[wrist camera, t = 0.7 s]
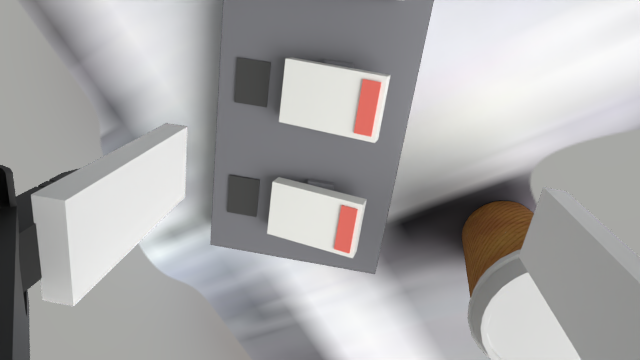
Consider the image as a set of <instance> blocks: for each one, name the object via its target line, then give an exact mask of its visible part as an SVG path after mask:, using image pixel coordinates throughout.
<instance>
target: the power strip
mask: <svg viewBox="0 0 640 360" xmlns="http://www.w3.org/2000/svg"><path fill="white" fill-rule="evenodd" d="M433 2H434V0H223V16H222V35H221V54H220V73H219V92H218V110H217V129H216V148H215V167H214V186H213V205H212V224H211V242H210V245H215V246H221V247H226V248H232V249H238V250H243V251H249V252H254V253H260V254H265V255H271V256H277V257H282V258H288V259H293V260H299V261H305V262H310V263H316V264H321V265H327V266H332V267H338V268H344V269H349V270H355V271H360V272H366V273H371V274H375V272H376V267H377V263H378V258H379V253H380V249H381V244H382V239H383V235H384V230H385V225H386V221H387V216H388V211H389V207H390V202H391V197H392V193H393V188H394V183H395V179H396V174H397V169H398V165H399V160H400V155H401V151H402V146H403V142H404V137H405V132H406V128H407V123H408V118H409V114H410V109H411V104H412V100H413V95H414V90H415V86H416V81H417V76H418V72H419V67H420V62H421V58H422V53H423V48H424V44H425V39H426V34H427V30H428V25H429V20H430V16H431V11H432V6H433ZM292 57H293V58H298V59H304V60H309V61H315V62H320V63H326V64H332V65H337V66H343V67H348V68H354V69H360V70H365V71H371V72H376V73H382V74H388V75H390V81H389V86H388V91H387V96H386V101H385V106H384V112H383V117H382V122H381V127H380V132H379V138H378V140H377V141H376V142H375V143H373V142H368V141H363V140H359V139H354V138H350V137H345V136H341V135H336V134H332V133H327V132H323V131H318V130H313V129H309V128H304V127H300V126H295V125H291V124H286V123H282V122H279V116H280V106H281V97H282V87H283V78H284V68H285V59H286V58H292ZM278 177H281V178H285V179H289V180H293V181H297V182H301V183H305V184H309V185H313V186H317V187H321V188H324V189H328V190H332V191H336V192H340V193H344V194H348V195H352V196H356V197H360V198H364V199H367V200H366V205H365V210H364V216H363V221H362V226H361V231H360V236H359V242H358V247H357V251H356V253H355V255H354V257H353V258H349V257H346V256H343V255H339V254H336V253H332V252H329V251H325V250H322V249H319V248H315V247H312V246H308V245H305V244H301V243H298V242H294V241H291V240H288V239H284V238H281V237H277V236H274V235H270V234H267V230H268V220H269V211H270V201H271V192H272V182H273V181H274V180H275V179H277V178H278Z"/></svg>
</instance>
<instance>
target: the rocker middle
mask: <svg viewBox="0 0 640 360" xmlns="http://www.w3.org/2000/svg"><path fill="white" fill-rule="evenodd" d="M389 81H390V75H388V74H382V73H376V72H371V71H365V70H360V69H354V68H348V67H343V66H337V65H332V64H326V63H320V62H315V61H309V60H304V59H298V58H293V57H292V58H286V59H285V68H284V78H283V87H282V97H281V106H280V116H279V122H282V123H286V124H291V125H295V126H300V127H304V128H309V129H313V130H318V131H323V132H327V133H332V134H336V135H341V136H345V137H350V138H354V139H359V140H363V141H368V142H373V143H375V142H376V141H377V140H378V138H379V132H380V127H381V122H382V117H383V112H384V106H385V101H386V96H387V91H388V86H389Z"/></svg>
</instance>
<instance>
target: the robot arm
mask: <svg viewBox="0 0 640 360" xmlns="http://www.w3.org/2000/svg"><path fill="white" fill-rule="evenodd" d="M186 154H187V126H181V125H175V124H169V123H166V124H164V125H162V126H160V127H158V128H156V129H154V130H152V131H151V132H149V133H147V134H145V135H143V136H141V137H139V138H137V139H135V140H133V141H132V142H130V143H128V144H126V145H124V146H122V147H120V148H118V149H116V150H114V151H113V152H111V153H109V154H107V155H105V156H103V157H101V158H99V159H97V160H96V161H94V162H92V163H90V164H88V165H86V166H84V167H82V168H79V169H75V170H72V171H68V172H64V173H61V174H60V175H58V176H56V177H54V178H52V179H50V180H49V181H46V182H44V183H42V184H40V185H39V186H38V187H34V188H32V189H30V190H28V191H26V192H24V193H22V194H20V195H18V196H17V197H16V196H15V189H14V181H13V172H12V171H11V169H10V168H8V167H5V166H3V165H0V360H30V349H29V348H30V344H29V300H28V292H27V289H29V288H30V287H31V286H32V285H34V284H35V283H36V282H37V281H39V280H40V281H41V291H42V299H43V301H48V302H53V303H59V304H64V305H69V306H74V305H75V304H76V303H77V302H79V301H80V299H82V298H83V297H84V296H85V295H86V294H87V293H88V292H89V291H90V290H91V289H92V288H93V287H94V286H95V285H96V284H97V283H98V282H99V281H100V280H101V279H102V278H103V277H104V276H105V275H106V274H107V273H108V272H109V271H110V270H111V269H112V268H113V267H114V266H115V265H116V264H117V263H118V262H119V261H120V260H121V259H122V258H123V257H124V256H125V255H127V254H128V253H129V252H130V251H131V250H132V249H133V248H134V247H135V246H136V245H137V244H138V243H139V242H140V241H141V240H142V239H143V238H144V237H145V236H146V235H147V234H148V233H149V232H150V231H151V230H152V229H153V228H154V227H155V226H156V225H157V224H158V223H159V222H160V221H161V220H162V219H163V218H164V217H165V216H166V215H167V214H168V213H170V212H171V211H172V210H173V209H174V208H175V207H176V206H177V205H178V204H179V203H180V202H181V201H182V200H183V199H184V198H185V186H186ZM519 258H520V260H521V261H522V263H523V265H524V266H525V268H526V270H527V271H528V273H529V274H530V276H531V278H532V279H533V281H534V283H535V284H536V286H537V288H538V289H539V291H540V293H541V294H542V296H543V297H544V299H545V301H546V302H547V304H548V306H549V307H550V309H551V311H552V312H553V314H554V316H555V317H556V319H557V320H558V322H559V324H560V325H561V327H562V329H563V330H564V332H565V334H566V335H567V337H568V338H569V340H570V342H571V343H572V345H573V347H574V348H575V350H576V352H577V353H578V355H579V357H580V358H581V360H640V257H639V256H638V255H637V254H636V253H635V252H634V251H632V250H631V249H630V248H629V247H628V246H627V245H626V244H625V243H623V242H622V241H621V240H620V239H619V238H618V237H617V236H616V235H615V234H614V233H612V232H611V231H610V230H609V229H608V228H607V227H606V226H605V225H604V224H602V223H601V222H600V221H599V220H598V219H597V218H596V217H595V216H594V215H592V214H591V213H590V212H589V211H588V210H587V209H586V208H585V207H584V206H583V205H581V204H580V203H579V202H578V201H577V200H576V199H575V198H574V197H573V196H571V195H570V194H569V193H568V192H567V191H563V190H558V189H552V188H546V187H543V190H542V192H541V195H540V198H539V201H538V204H537V206H536V209H535V212H534V215H533V218H532V220H531V223H530V226H529V229H528V232H527V234H526V237H525V240H524V243H523V246H522V248H521V251H520V254H519Z"/></svg>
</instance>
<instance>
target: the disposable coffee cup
mask: <svg viewBox="0 0 640 360" xmlns="http://www.w3.org/2000/svg"><path fill="white" fill-rule="evenodd" d="M533 215H534V213H533V212H531V211H530V210H529V209H528V208H526V207H525V206H523V205H521V204H519V203H516V202H512V201H496V202H492V203H489V204H486V205H484V206H482V207H480V208H478V209H477V210H476V211H474V212H473V213H472V214H471V215H470V216H469V218H468V219H467V221H466V222H465V224H464V227H463V231H462V243H463V249H464V256H465V263H466V270H467V277H468V283H469V291H470V298H471V299H470V302H469V308H468V323H469V327H470V331H471V335H472V337H473V339H474V340H475V342H476V344H477V346H478V347H479V348H480V349H481V350H482V352H483V353H484V354H485V355H486V356H487V357H489V358H490V359H492V360H581V358H580V357H579V355H578V353H577V352H576V350H575V348H574V347H573V345H572V343H571V342H570V340H569V338H568V337H567V335H566V334H565V332H564V330H563V329H562V327H561V325H560V324H559V322H558V320H557V319H556V317H555V316H554V314H553V312H552V311H551V309H550V307H549V306H548V304H547V302H546V301H545V299H544V297H543V296H542V294H541V293H540V291H539V289H538V288H537V286H536V284H535V283H534V281H533V279H532V278H531V276H530V274H529V273H528V271H527V270H526V268H525V266H524V265H523V263H522V261H521V260H520V258H519V254H520V251H521V248H522V246H523V243H524V240H525V237H526V234H527V232H528V229H529V226H530V223H531V220H532V218H533Z"/></svg>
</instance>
